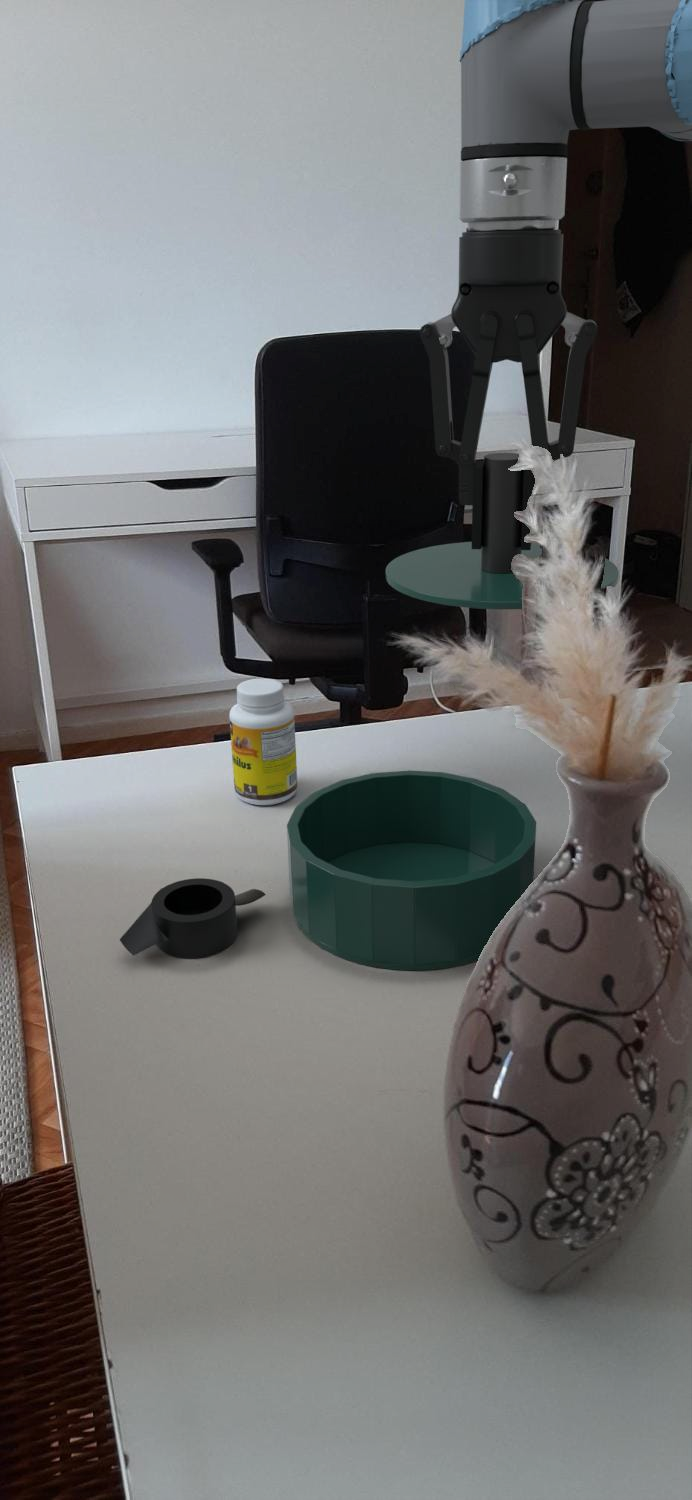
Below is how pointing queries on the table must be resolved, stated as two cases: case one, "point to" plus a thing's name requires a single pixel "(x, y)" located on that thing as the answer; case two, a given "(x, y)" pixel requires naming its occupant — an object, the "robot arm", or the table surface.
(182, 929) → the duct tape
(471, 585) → the lid
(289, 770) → the supplement bottle
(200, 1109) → the table surface
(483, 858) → the tin
